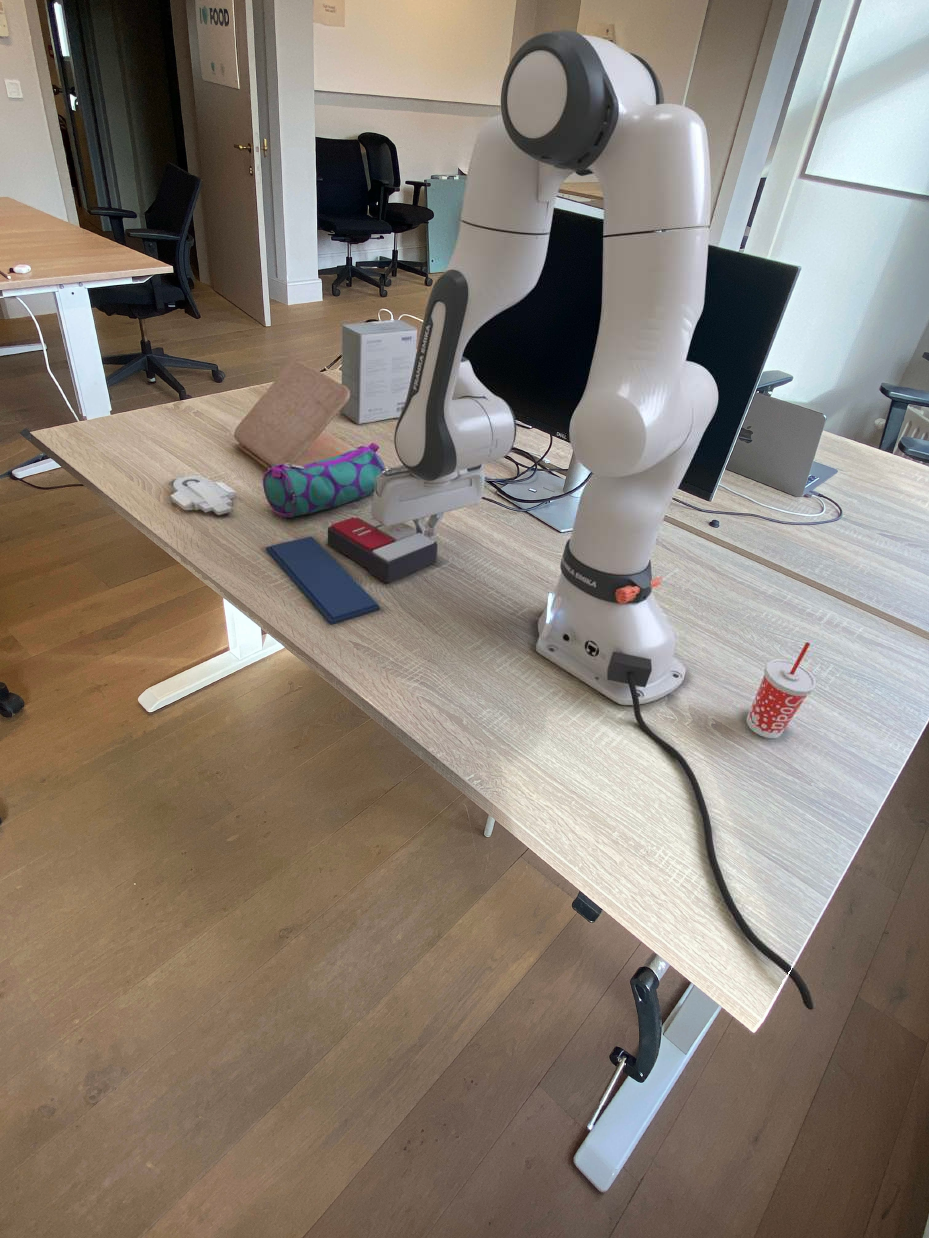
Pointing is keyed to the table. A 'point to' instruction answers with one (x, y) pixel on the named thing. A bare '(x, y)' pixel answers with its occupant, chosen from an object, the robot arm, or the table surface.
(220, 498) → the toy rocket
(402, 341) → the hard drive box
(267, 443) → the case
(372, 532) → the red and grey box
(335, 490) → the pencil case
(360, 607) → the flat dark blue box
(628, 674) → the robot arm
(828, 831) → the table surface
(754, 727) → the beverage cup
